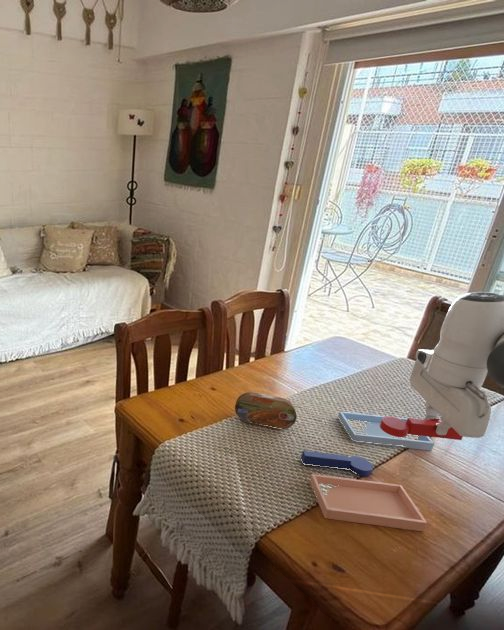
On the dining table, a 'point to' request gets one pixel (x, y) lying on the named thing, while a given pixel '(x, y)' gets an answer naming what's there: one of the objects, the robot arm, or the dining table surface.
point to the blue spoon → (338, 462)
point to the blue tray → (381, 432)
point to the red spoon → (414, 428)
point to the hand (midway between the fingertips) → (434, 428)
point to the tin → (265, 410)
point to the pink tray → (367, 503)
